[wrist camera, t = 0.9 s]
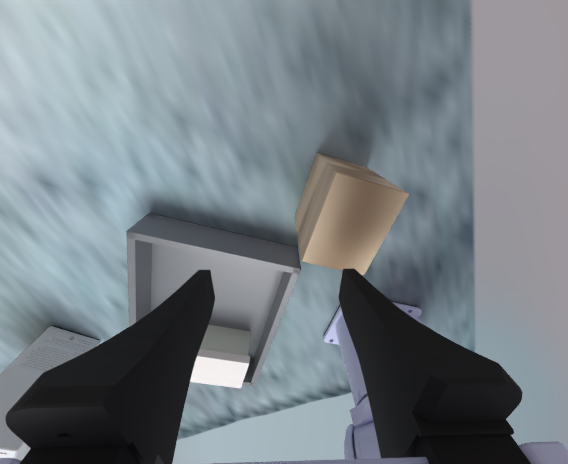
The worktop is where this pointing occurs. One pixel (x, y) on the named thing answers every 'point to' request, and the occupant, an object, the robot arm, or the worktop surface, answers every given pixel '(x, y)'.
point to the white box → (222, 357)
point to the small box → (34, 377)
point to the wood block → (345, 214)
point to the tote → (213, 277)
